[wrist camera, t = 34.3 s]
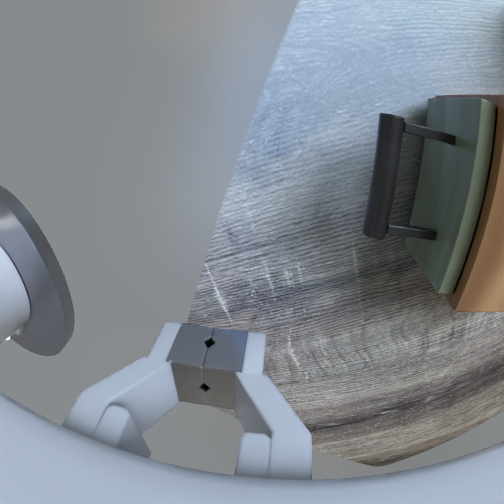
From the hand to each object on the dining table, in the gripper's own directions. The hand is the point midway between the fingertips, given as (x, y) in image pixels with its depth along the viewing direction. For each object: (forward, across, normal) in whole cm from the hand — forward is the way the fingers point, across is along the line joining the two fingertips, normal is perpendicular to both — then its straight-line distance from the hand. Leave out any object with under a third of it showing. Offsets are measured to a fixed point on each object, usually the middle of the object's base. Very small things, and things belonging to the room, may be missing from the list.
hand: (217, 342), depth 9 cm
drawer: (+13, -16, -4) cm, 21 cm away
